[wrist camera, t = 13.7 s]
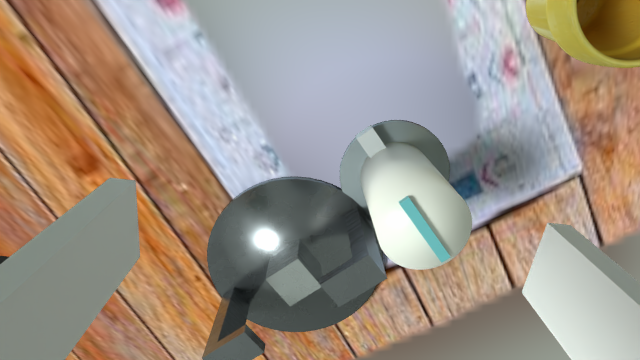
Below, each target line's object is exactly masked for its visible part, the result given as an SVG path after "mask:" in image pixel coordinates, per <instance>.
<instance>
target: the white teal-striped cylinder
mask: <svg viewBox="0 0 640 360" xmlns="http://www.w3.org/2000/svg"><path fill="white" fill-rule="evenodd" d="M356 139H357V140H358V142H359V143H360V144H361V146H362V147H363V149H364V150H365V151H366V153H367V154H368V156H367V158H366V159H365V161H364V163H363V165H362V168H361V172H360V182H361V186H362V190H363V193H364V196H365V199H366V202H367V206H368V209H369V212H370V215H371V219H372V222H373V225H374V228H375V232H376V235H377V238H378V241H379V244H380V247H381V249H382V250H383V252H384V253H385V255H386V256H387V257H388V258H389V259H391V260H392V261H393V262H395V263H396V264H398V265H400V266H403V267H406V268H410V269H418V270H421V269H430V268H434V267H438V266H440V265H443V264H445V263H447V262H448V261H450V260H451V259H453V258H454V257H455V256H456V255H458V254H459V252H460V251H461V250H462V249H463V248H464V246H465V245H466V243H467V241H468V239H469V236H470V233H471V229H472V217H471V213H470V210H469V207H468V206H467V204H466V202H465V201H464V200H463V198H462V197H461V196H460V195H459V194H458V193H457V192H456V190H455V189H454V188H453V187H452V186H451V185H450V184H449V182H448V181H447V180H446V179H445V178H444V177H443V176H442V175H441V173H440V172H439V171H438V170H437V169H436V168H435V167H434V165H433V164H432V163H431V162H430V161H429V160H428V159H427V158H426V156H425V155H424V154H423V153H422V152H421V151H420V150H419V149H418V148H416V147H415V146H413V145H410V144H408V143H403V142H391V143H387V144H384V143H383V142H382V140H381V139H380V137H379V136H378V135H377V133H376V132H375V130H374V129H373V127H372V126H371V125H370V126H369V127H368V128H366V129H365V130H363V131H362V132H360V133H359V134H357V135H356Z"/></svg>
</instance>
